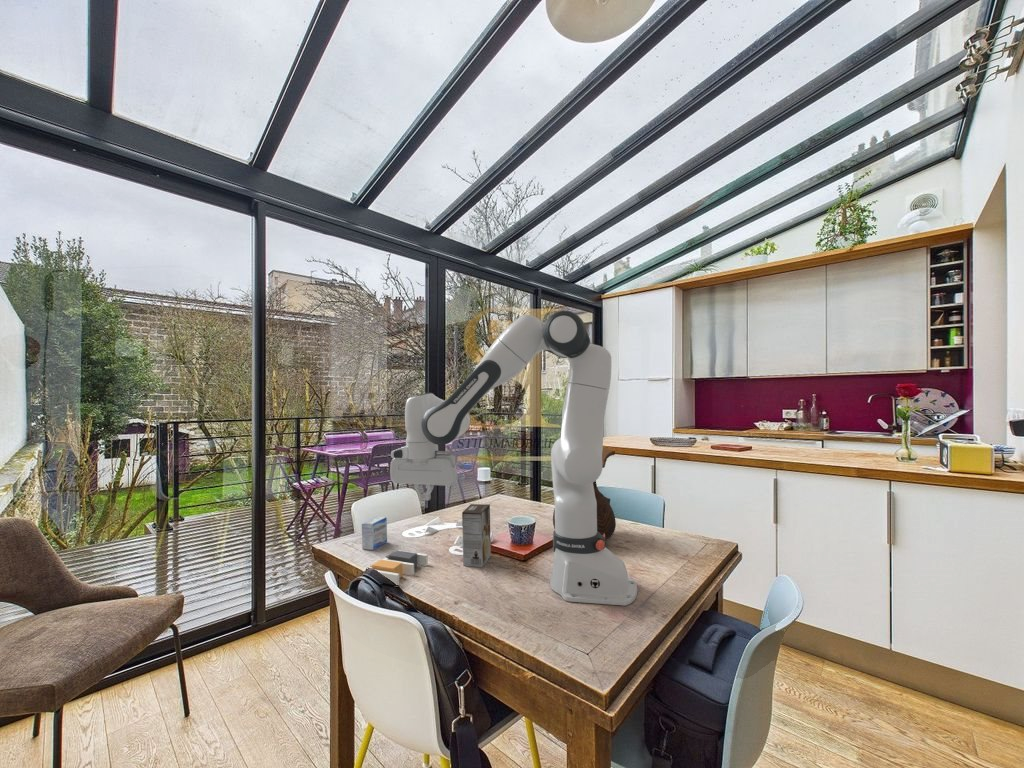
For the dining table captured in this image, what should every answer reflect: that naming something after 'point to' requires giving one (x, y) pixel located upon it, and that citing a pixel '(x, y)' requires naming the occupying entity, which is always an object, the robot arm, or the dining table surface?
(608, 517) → the jug
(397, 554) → the slate gray rubber brick
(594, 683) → the dining table surface
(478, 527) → the coffee box
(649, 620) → the dining table surface
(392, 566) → the tan wooden block
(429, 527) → the white flat shape
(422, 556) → the rack
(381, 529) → the medicine box
